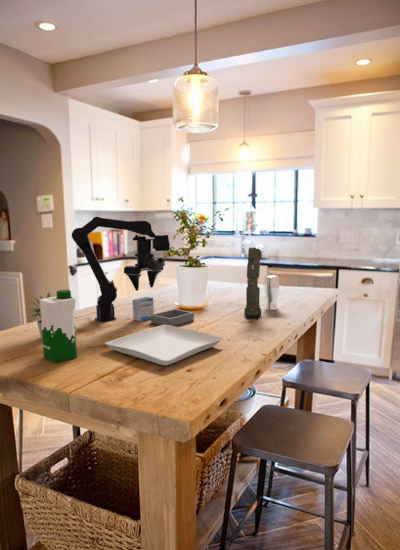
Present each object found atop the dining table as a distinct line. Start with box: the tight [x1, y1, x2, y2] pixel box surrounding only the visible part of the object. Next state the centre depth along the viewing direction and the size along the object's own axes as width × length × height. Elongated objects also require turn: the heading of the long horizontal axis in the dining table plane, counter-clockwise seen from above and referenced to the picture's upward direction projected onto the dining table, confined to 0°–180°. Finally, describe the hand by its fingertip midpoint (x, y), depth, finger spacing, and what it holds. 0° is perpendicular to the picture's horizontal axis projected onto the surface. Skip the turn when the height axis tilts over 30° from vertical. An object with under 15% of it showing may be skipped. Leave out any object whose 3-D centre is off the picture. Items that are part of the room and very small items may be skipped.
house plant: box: [28, 292, 57, 341], centre depth 141 cm, size 14×14×16 cm
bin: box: [150, 308, 195, 327], centre depth 161 cm, size 14×11×4 cm
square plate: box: [104, 325, 224, 366], centre depth 128 cm, size 27×27×4 cm
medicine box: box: [132, 296, 155, 322], centre depth 167 cm, size 8×4×9 cm, turn 143°
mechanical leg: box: [243, 247, 263, 320], centre depth 171 cm, size 14×7×30 cm, turn 168°
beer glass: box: [263, 274, 280, 311], centre depth 183 cm, size 7×7×15 cm
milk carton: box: [38, 289, 78, 364], centre depth 120 cm, size 9×9×20 cm
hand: (144, 288), depth 168 cm, fingers open, 9 cm apart
